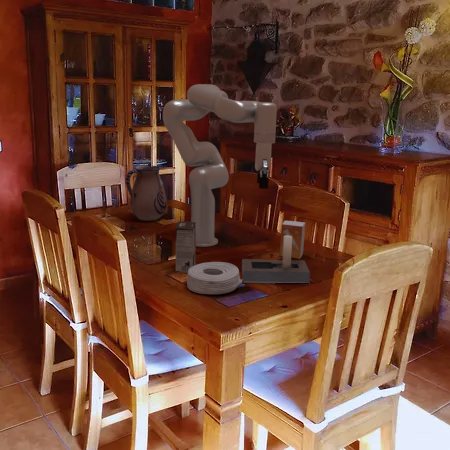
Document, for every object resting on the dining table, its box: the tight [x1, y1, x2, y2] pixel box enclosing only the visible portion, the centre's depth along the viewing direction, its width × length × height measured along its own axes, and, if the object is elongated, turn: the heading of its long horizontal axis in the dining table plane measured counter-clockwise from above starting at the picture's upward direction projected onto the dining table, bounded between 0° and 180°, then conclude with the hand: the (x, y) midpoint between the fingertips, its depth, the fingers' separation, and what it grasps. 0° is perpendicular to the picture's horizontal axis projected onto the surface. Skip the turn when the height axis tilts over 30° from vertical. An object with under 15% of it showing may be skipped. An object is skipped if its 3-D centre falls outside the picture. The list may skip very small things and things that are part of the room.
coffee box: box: [175, 220, 196, 274], centre depth 186 cm, size 9×6×16 cm
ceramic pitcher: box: [125, 164, 168, 222], centre depth 248 cm, size 18×21×25 cm
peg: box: [282, 235, 292, 268], centre depth 180 cm, size 6×6×14 cm
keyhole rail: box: [241, 258, 311, 284], centre depth 181 cm, size 22×12×4 cm, turn 91°
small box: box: [279, 220, 306, 260], centre depth 203 cm, size 8×6×13 cm
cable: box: [186, 261, 243, 295], centre depth 172 cm, size 18×18×6 cm
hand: (262, 185), depth 191 cm, fingers open, 9 cm apart
